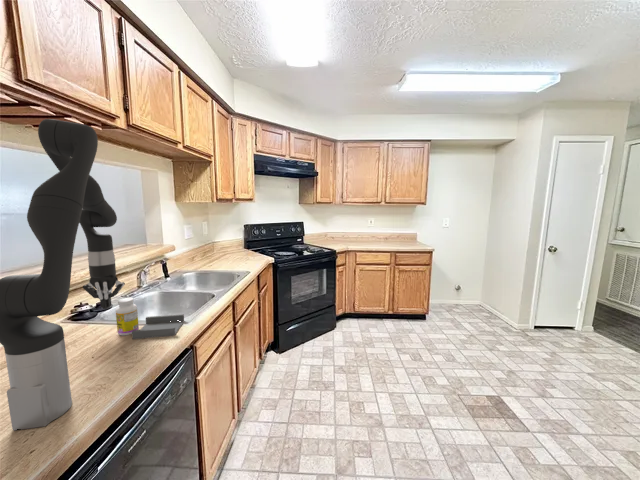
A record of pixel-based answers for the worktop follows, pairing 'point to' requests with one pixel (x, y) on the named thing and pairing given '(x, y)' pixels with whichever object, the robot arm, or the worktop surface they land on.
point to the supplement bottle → (126, 316)
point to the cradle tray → (159, 326)
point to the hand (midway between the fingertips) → (106, 308)
